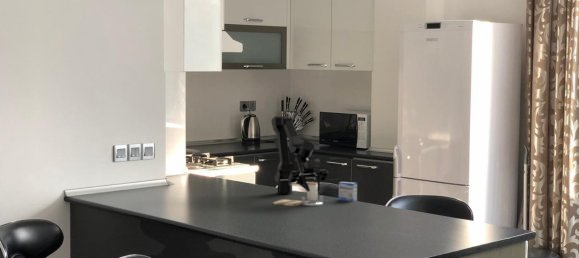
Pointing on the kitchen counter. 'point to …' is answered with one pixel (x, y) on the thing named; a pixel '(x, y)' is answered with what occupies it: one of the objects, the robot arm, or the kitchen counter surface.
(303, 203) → the clear glass bowl
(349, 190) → the medicine box
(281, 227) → the kitchen counter surface
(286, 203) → the board
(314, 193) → the whitish cup
